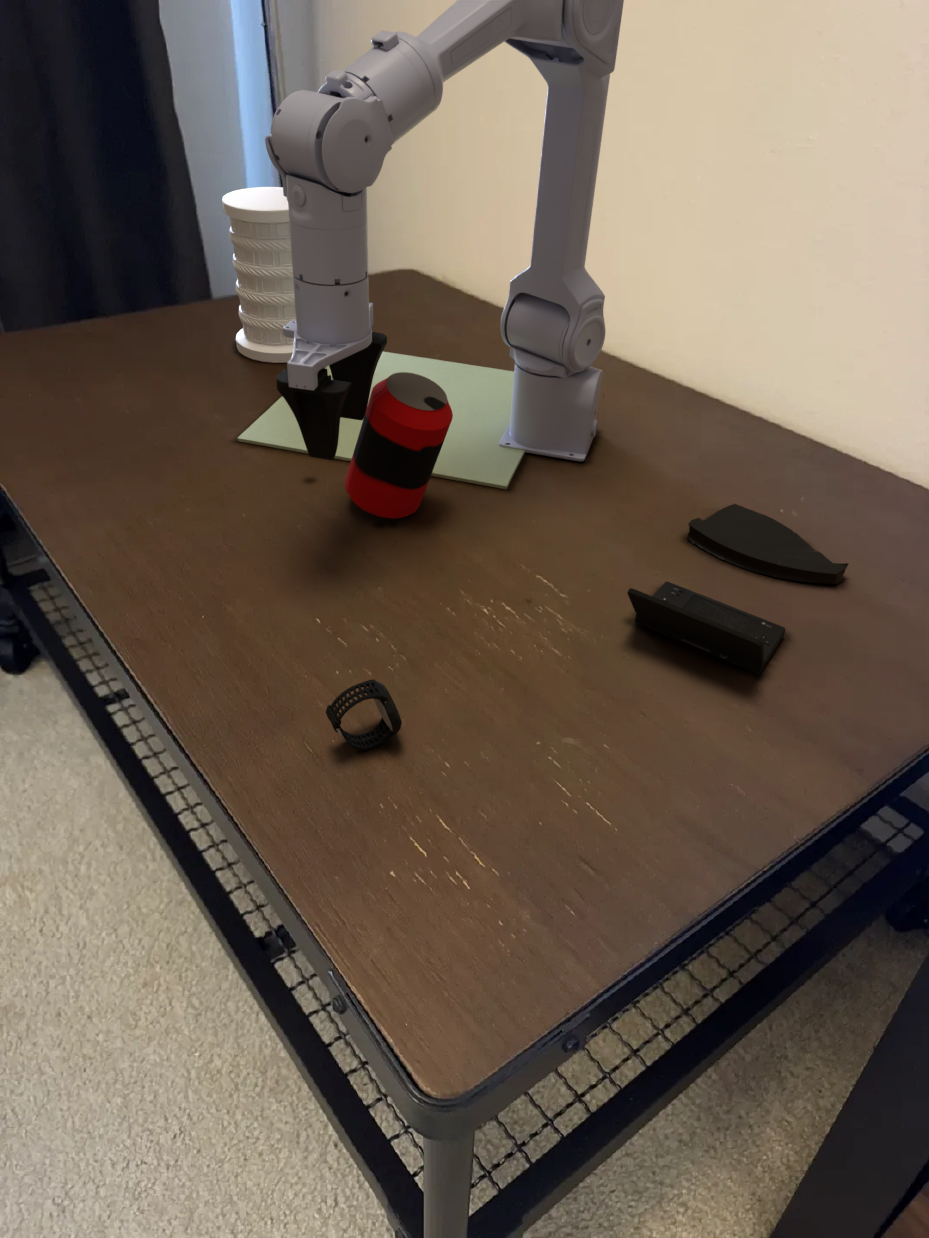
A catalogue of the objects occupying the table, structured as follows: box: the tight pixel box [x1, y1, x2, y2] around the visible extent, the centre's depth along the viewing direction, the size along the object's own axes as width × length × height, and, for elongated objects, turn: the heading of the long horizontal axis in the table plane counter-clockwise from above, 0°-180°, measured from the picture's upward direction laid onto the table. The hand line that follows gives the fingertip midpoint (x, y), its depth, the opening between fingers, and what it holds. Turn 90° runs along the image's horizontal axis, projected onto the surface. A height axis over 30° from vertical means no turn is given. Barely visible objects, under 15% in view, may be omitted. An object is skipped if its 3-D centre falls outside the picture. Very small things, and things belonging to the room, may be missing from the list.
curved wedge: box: [686, 503, 850, 585], centre depth 84 cm, size 8×14×2 cm, turn 41°
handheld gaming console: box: [626, 581, 786, 675], centre depth 72 cm, size 12×7×10 cm
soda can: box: [344, 372, 453, 520], centre depth 84 cm, size 8×8×12 cm
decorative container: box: [221, 186, 296, 364], centre depth 113 cm, size 12×12×18 cm
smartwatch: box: [325, 678, 403, 751], centre depth 63 cm, size 4×5×5 cm
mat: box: [236, 351, 526, 490], centre depth 105 cm, size 30×28×1 cm
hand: (337, 436), depth 77 cm, fingers open, 7 cm apart
